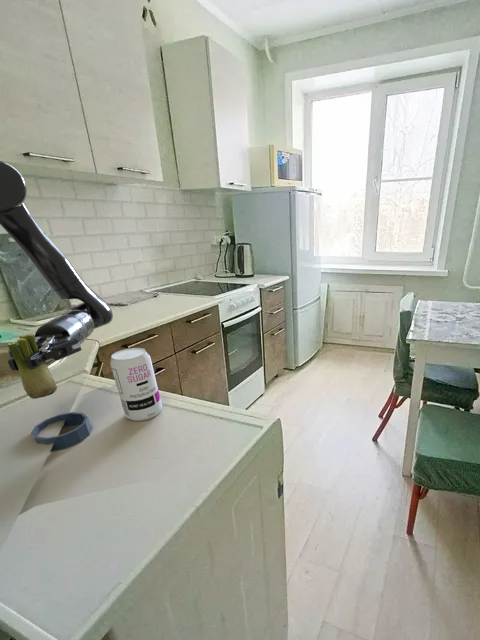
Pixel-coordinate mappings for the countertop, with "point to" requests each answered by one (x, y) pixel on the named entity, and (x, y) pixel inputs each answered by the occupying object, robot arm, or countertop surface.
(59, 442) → the ring
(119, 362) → the supplement can
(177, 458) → the countertop surface
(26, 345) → the fennel bulb
